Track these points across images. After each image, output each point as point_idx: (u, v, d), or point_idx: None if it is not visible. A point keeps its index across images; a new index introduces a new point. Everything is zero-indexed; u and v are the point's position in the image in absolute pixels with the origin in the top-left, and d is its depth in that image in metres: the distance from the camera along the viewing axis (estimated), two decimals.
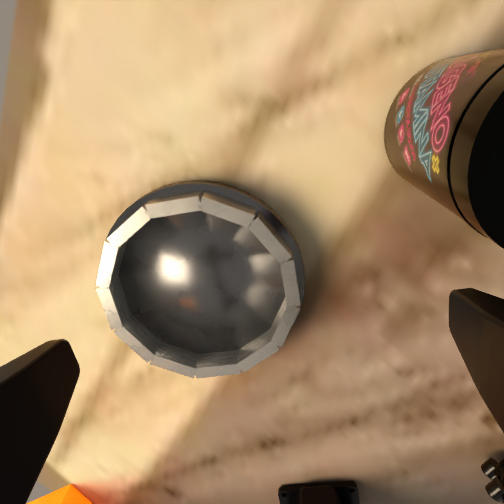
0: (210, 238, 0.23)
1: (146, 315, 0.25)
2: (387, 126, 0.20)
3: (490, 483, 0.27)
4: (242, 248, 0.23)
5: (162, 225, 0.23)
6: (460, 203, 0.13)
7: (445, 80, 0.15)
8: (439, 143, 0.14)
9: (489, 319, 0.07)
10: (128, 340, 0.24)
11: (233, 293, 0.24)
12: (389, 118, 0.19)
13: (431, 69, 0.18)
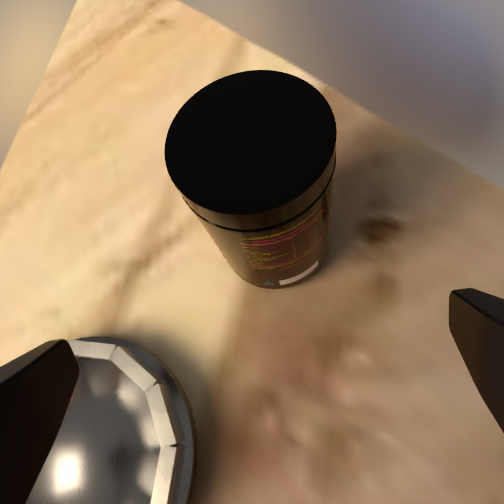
0: (85, 394, 0.22)
1: None
2: None
3: None
4: (118, 397, 0.21)
5: None
6: (190, 205, 0.15)
7: None
8: None
9: (489, 319, 0.07)
10: None
11: (112, 460, 0.20)
12: None
13: None
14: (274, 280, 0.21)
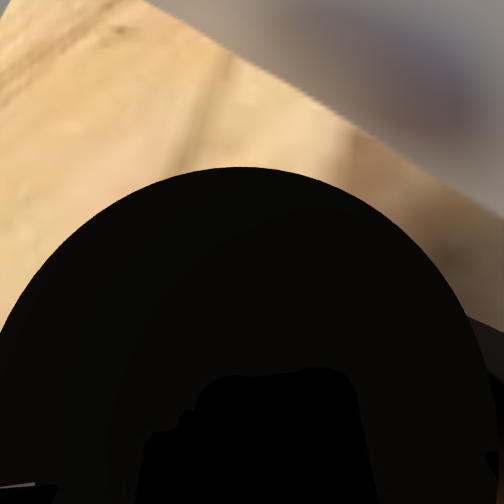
0: None
1: None
2: None
3: None
4: None
5: None
6: None
7: None
8: None
9: None
10: None
11: None
12: None
13: None
14: None
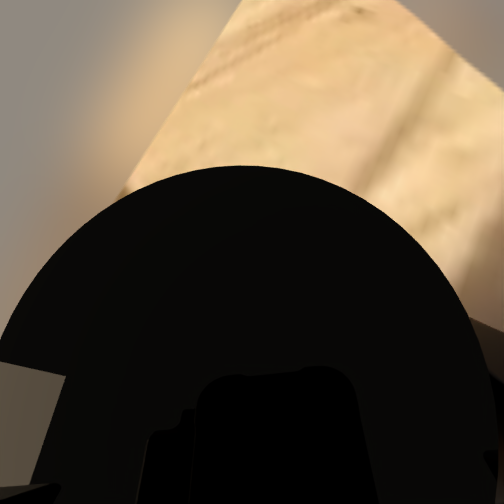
0: None
1: None
2: None
3: None
4: None
5: None
6: None
7: None
8: None
9: None
10: None
11: None
12: None
13: None
14: None
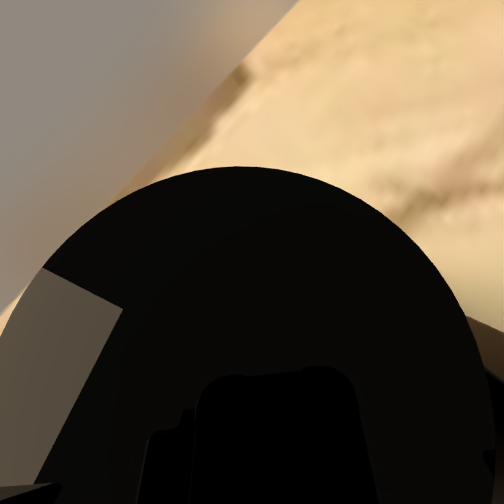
0: None
1: None
2: None
3: None
4: None
5: None
6: None
7: None
8: None
9: None
10: None
11: None
12: None
13: None
14: None
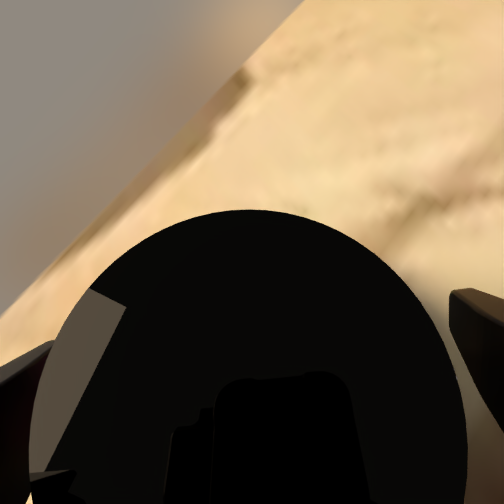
0: None
1: None
2: None
3: None
4: None
5: None
6: None
7: None
8: None
9: (489, 319, 0.07)
10: None
11: None
12: None
13: None
14: None
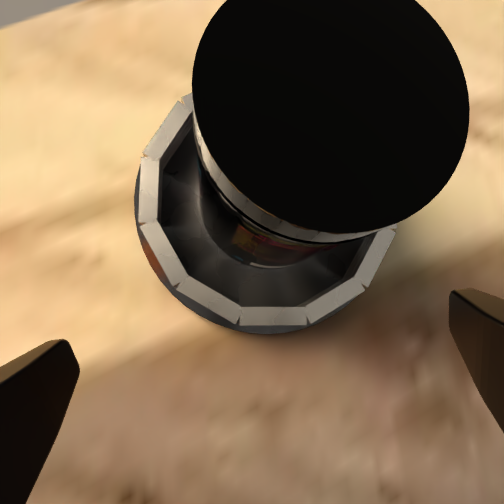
0: None
1: (177, 185, 0.19)
2: None
3: None
4: None
5: None
6: (200, 147, 0.09)
7: None
8: None
9: (489, 319, 0.07)
10: (147, 179, 0.17)
11: None
12: None
13: None
14: (246, 259, 0.16)
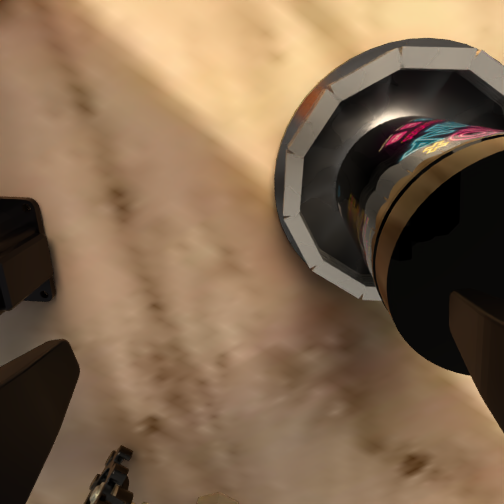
0: None
1: (382, 93, 0.18)
2: (396, 119, 0.17)
3: (123, 467, 0.26)
4: None
5: None
6: (423, 180, 0.10)
7: None
8: (461, 138, 0.11)
9: (489, 319, 0.07)
10: (376, 68, 0.16)
11: None
12: (405, 117, 0.17)
13: None
14: (340, 202, 0.18)
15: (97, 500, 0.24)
